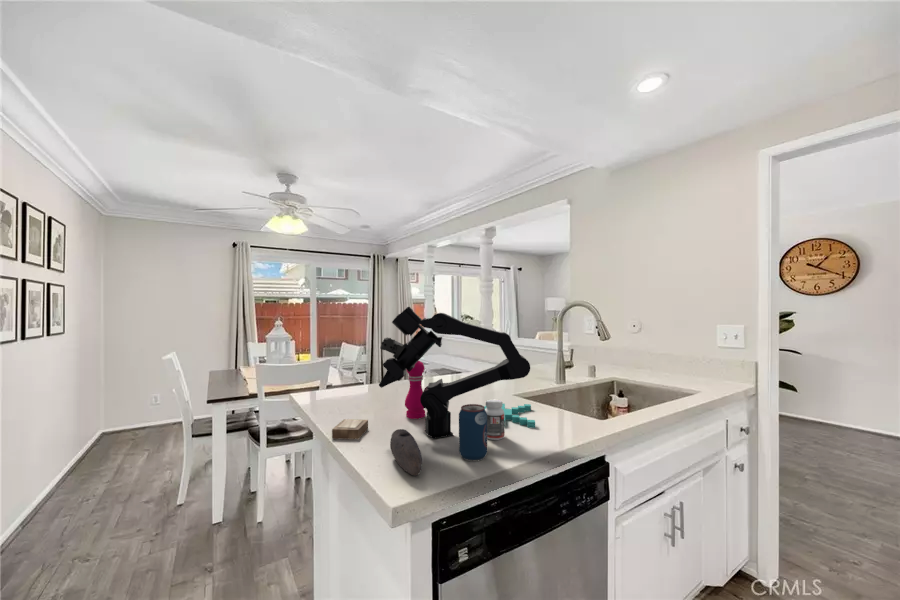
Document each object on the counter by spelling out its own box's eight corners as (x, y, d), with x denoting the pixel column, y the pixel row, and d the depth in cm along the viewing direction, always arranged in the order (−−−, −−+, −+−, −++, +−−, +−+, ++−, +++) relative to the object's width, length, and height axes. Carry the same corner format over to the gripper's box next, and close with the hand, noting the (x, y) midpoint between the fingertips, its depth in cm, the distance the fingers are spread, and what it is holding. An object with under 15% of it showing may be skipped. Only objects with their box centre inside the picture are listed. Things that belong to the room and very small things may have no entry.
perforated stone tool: (429, 479, 81) (429, 447, 81) (405, 484, 79) (405, 451, 79) (409, 454, 95) (409, 426, 95) (388, 457, 93) (388, 429, 93)
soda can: (491, 460, 91) (491, 409, 91) (464, 463, 89) (463, 412, 89) (481, 449, 97) (480, 402, 97) (455, 452, 95) (455, 404, 95)
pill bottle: (506, 440, 104) (506, 403, 104) (485, 441, 103) (485, 404, 103) (502, 433, 109) (501, 398, 109) (482, 433, 109) (482, 399, 109)
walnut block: (368, 419, 114) (343, 418, 115) (358, 428, 105) (332, 428, 106) (368, 429, 114) (343, 429, 115) (358, 440, 105) (332, 440, 106)
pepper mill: (404, 413, 129) (404, 354, 129) (426, 412, 130) (425, 354, 130) (404, 420, 122) (404, 357, 122) (427, 419, 123) (426, 357, 123)
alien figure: (530, 410, 133) (473, 408, 136) (530, 404, 133) (473, 402, 136) (535, 429, 114) (468, 427, 116) (535, 422, 114) (468, 419, 116)
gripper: (403, 326, 119) (369, 362, 120) (389, 329, 101) (349, 371, 101) (429, 351, 118) (394, 387, 119) (420, 358, 100) (379, 401, 100)
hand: (380, 386), depth 110 cm, fingers closed
